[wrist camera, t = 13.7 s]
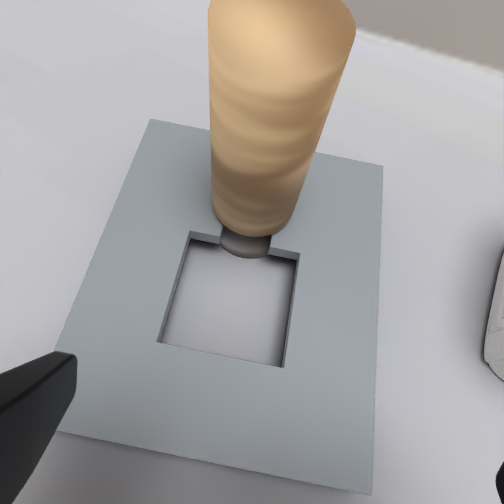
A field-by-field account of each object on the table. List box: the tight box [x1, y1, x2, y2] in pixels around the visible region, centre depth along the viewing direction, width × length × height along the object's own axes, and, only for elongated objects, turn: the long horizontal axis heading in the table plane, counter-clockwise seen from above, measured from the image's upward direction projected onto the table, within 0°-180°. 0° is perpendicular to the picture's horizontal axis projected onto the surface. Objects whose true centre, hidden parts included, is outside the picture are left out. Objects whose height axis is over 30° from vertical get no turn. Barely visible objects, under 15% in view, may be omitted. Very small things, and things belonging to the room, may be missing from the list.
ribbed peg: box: [208, 0, 356, 258], centre depth 19 cm, size 5×5×14 cm
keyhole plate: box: [54, 119, 383, 496], centre depth 22 cm, size 19×16×2 cm
